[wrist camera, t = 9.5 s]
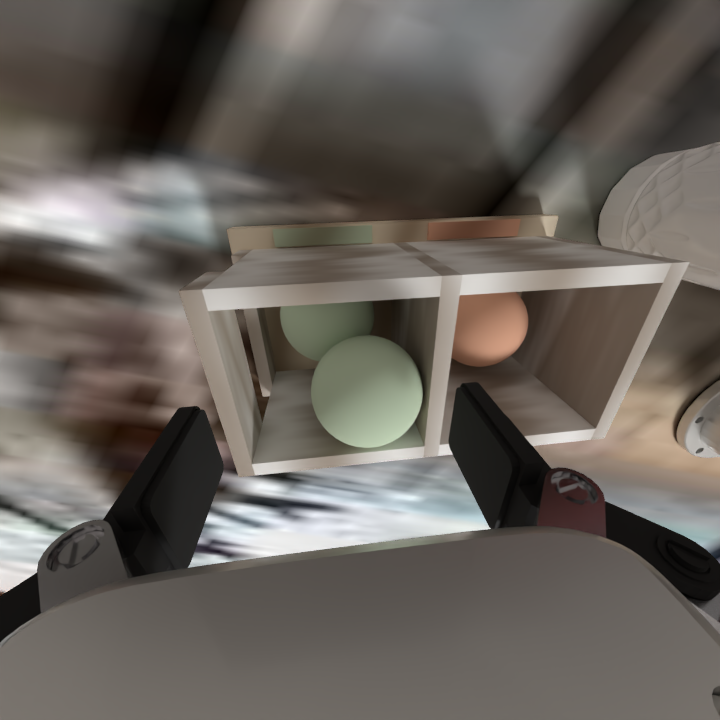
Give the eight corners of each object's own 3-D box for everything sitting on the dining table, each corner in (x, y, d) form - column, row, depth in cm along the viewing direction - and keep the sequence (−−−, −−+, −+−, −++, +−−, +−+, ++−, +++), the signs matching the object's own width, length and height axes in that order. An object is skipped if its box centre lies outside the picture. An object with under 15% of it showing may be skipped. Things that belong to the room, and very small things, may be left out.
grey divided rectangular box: (544, 214, 21) (716, 229, 12) (507, 364, 27) (604, 452, 18) (233, 226, 19) (151, 256, 10) (266, 384, 25) (234, 493, 16)
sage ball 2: (422, 311, 13) (461, 413, 15) (356, 318, 18) (391, 395, 20) (320, 382, 11) (381, 492, 13) (275, 368, 16) (324, 450, 17)
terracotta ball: (506, 268, 21) (562, 290, 16) (491, 341, 24) (535, 379, 19) (427, 272, 20) (460, 296, 16) (421, 346, 23) (448, 387, 18)
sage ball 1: (367, 275, 21) (375, 253, 15) (372, 356, 21) (382, 362, 16) (286, 280, 21) (264, 259, 15) (293, 361, 21) (274, 370, 16)
